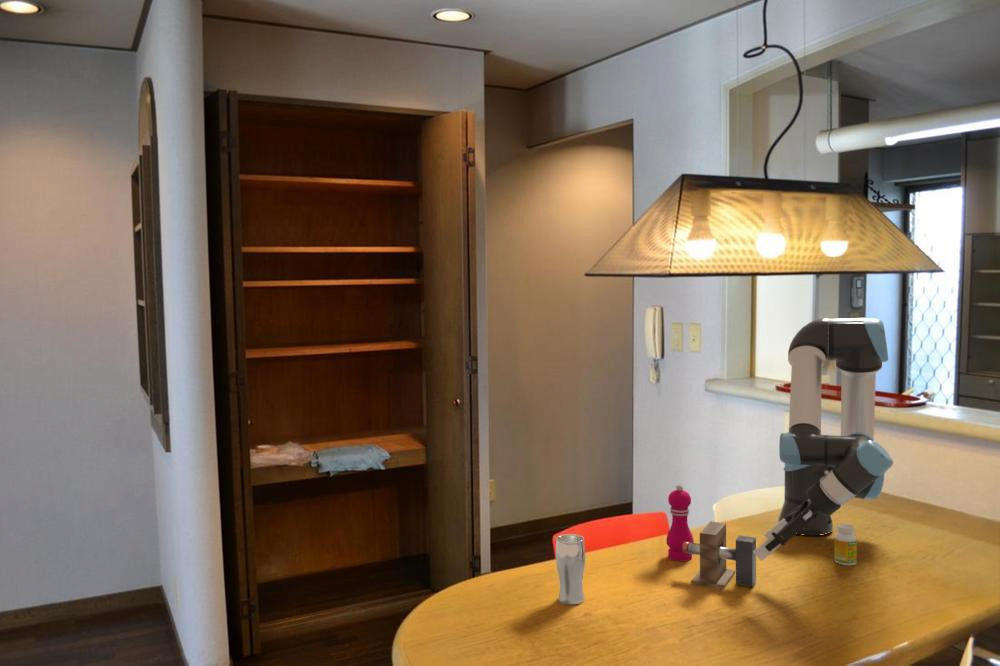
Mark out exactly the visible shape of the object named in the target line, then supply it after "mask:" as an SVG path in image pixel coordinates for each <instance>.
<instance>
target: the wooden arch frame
mask: <svg viewBox="0 0 1000 666" xmlns="http://www.w3.org/2000/svg"><path fill="white" fill-rule="evenodd" d="M699 544H700V555H699V570H698V572H697V573H696V574H695V576H694V577H693V578H692V579H691V580H690V585H693V586H696V587H697V586H698V587H705V588H709V589H715V590H721V591H724V590H725V589H726V587H727V586H728V584H729V583H730V582H731V580H732V578H733V577H734V575H736V569H732V568H731V569H730V568H727V559H721V558H719V547H725V548H727V523H725V522H719V521H712V520H710V521H709V522H708V523H707V524H706V526H704V527H703V529H702V530H701V531H700V532H699Z"/></svg>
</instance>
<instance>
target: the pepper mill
mask: <svg viewBox="0 0 1000 666" xmlns="http://www.w3.org/2000/svg"><path fill="white" fill-rule="evenodd" d="M675 488H676V489H675V490H673V491H671V492H670V493H669V495H668V499H667V500H668V504H669V505H670V506H671V507H670V508H669V510H670V514H671V517H672V520H671V525H670V528H669V530H668V532H667V535H666V540H665V541H666V545H667V546H668V547H669V549H668V554H667V555H668V558H669V559H670V560H673V561H676V562H677V561H678V562H688V561H690V560H692V559H693V554H689V553H683V552H682V545H683V542H684V541H685V542H692V543H695V542H694V536H693V534H692V531H691V529H690V527H689V523H688V517H689V516H688V515H689V514H690V508H689V507H690V505H691V504H692V497H691V495H690V494H689V493H688V491H686V490H683V489H684V487H683V485H682V484H677V485H676V487H675ZM687 560H688V561H687Z"/></svg>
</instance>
